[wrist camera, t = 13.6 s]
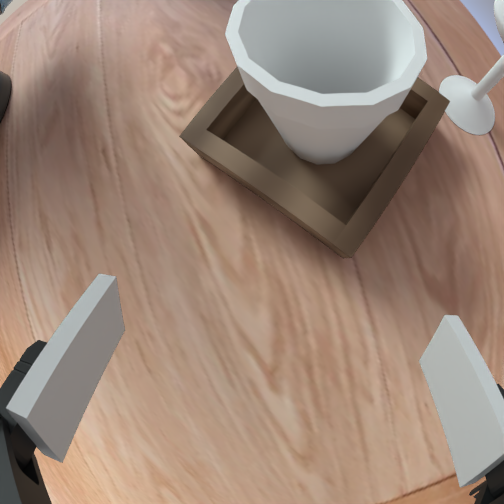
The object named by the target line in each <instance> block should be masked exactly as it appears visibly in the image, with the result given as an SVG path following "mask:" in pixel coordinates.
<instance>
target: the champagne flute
mask: <svg viewBox="0 0 504 504" xmlns="http://www.w3.org/2000/svg"><path fill="white" fill-rule="evenodd" d="M494 16H495V20H496V24H497V29H498V31H499V33H500V36H501V38H502V40H503V43H504V0H495V2H494ZM503 77H504V55H503V56H502V57H501V58H500V59H499V60H498V61H497V63H496V64H495V65H494V66H493V67H492V68H491V70H490V71H489V72H488V73H487V74H486V75H485V76H484V78H483V79H482V80H481V81H480V82H479V83H478V84H477V83H475V82H474V81H472V80H471V79H468V78H466V77H463V76H459V75H453V76H449V77H446V78H445V79H444V80H443V81H442V83H441V85H440V88H439V93H440V94H442V95H443V96H444V97H446V98H447V99H448V100H449V101H450V103H449V104H448V106H447V108H446V110H445V112H446V113H447V115H448V116H449V118H450V119H451V120H452V121H453V122H454V123H455V124H456V125H457V126H458V127H460V128H461V129H463V130H464V131H466V132H468V133H471V134H475V135H482V134H486V133H488V132H489V131H490V130H491V129H492V127H493V125H494V122H495V112H494V108H493V105H492V102H491V100H490V99H489V97H488V95H487V93H488V92H489V91H490V90H491V89H492V88H493V87H494V86H495V85H496V84H497V83H498V82H499V81H500V80H501V79H502V78H503Z"/></svg>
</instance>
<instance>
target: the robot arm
mask: <svg viewBox="0 0 504 504" xmlns="http://www.w3.org/2000/svg"><path fill="white" fill-rule="evenodd" d="M11 1H12V0H0V15H1V14H2V13H4V11H5V8H6V7H7V6H8V5H9V4H10V3H11ZM10 90H11V80H10V77H9V76H8V75H7V74H5V73H3V72H2V71H0V122H1V119H2V117H3V115H4V112H5V109H6V106H7V103H8V100H9V96H10ZM124 331H125V327H124V322H123V316H122V310H121V304H120V298H119V292H118V285H117V278H116V276H110V275H105V274H98V276H97V277H96V278H95V279H94V281H93V282H92V283H91V284H90V286H89V287H88V288H87V290H86V291H85V292H84V293H83V295H82V296H81V297H80V299H79V300H78V301H77V303H76V304H75V305H74V307H73V308H72V309H71V311H70V312H69V313H68V315H67V316H66V317H65V319H64V320H63V322H62V323H61V324H60V326H59V327H58V328H57V330H56V331H55V333H54V334H53V336H52V337H51V338H50V340H49V341H48V343H46V342H43V341H40V340H38V341H37V342H35V343H34V344H33V345H31V346H30V347H28V348H27V350H26V351H25V352H24V354H23V355H22V357H21V358H20V361H18V362H17V364H16V365H15V367H14V370H12V371H11V373H10V374H9V376H8V377H7V379H6V380H5V382H4V383H3V385H2V387H1V388H0V504H52V503H51V501H50V498H49V495H48V493H47V490H46V487H45V484H44V481H43V478H42V475H41V472H40V469H39V466H38V463H37V459H36V457H35V455H34V451H35V448H36V447H37V448H38V449H39V450H40V451H41V452H42V453H43V454H44V455H46V456H48V457H50V458H53V459H55V460H57V461H59V462H62V463H63V460H64V458H65V456H66V453H67V451H68V448H69V446H70V444H71V441H72V439H73V437H74V434H75V432H76V430H77V428H78V425H79V423H80V421H81V419H82V417H83V414H84V412H85V410H86V408H87V406H88V404H89V401H90V399H91V397H92V395H93V393H94V391H95V389H96V387H97V385H98V382H99V380H100V378H101V376H102V374H103V372H104V370H105V368H106V366H107V364H108V362H109V360H110V358H111V356H112V354H113V352H114V350H115V348H116V346H117V345H118V343H119V341H120V339H121V337H122V335H123V333H124ZM419 363H420V365H421V368H422V370H423V373H424V376H425V378H426V381H427V383H428V386H429V389H430V392H431V394H432V397H433V400H434V403H435V406H436V409H437V411H438V414H439V417H440V420H441V423H442V426H443V430H444V433H445V436H446V439H447V442H448V446H449V449H450V452H451V456H452V459H453V463H454V466H455V470H456V474H457V478H458V481H459V485H460V487H463V486H467V485H470V484H473V483H475V482H477V481H478V480H479V479H481V478H482V477H484V476H486V481H484V482H483V483H482V484H480V485H479V486H477V487H476V488H474V489H473V490H472V491H471V492H470V494H469V495H470V496H471V495H473V494H474V493H476V492H477V491H479V493H477V494H476V495H475V496H474V498H476V501H475V503H474V504H504V389H503V388H502V387H501V386H500V385H499V384H496V382H495V380H494V378H493V377H492V375H491V373H490V371H489V369H488V367H487V365H486V363H485V361H484V360H483V358H482V356H481V354H480V352H479V350H478V349H477V347H476V345H475V343H474V342H473V340H472V338H471V336H470V335H469V333H468V331H467V330H466V328H465V326H464V325H463V323H462V321H461V320H460V318H459V316H457V315H444V317H443V319H442V321H441V323H440V325H439V327H438V328H437V330H436V332H435V334H434V336H433V338H432V339H431V341H430V343H429V345H428V346H427V348H426V350H425V352H424V353H423V355H422V357H421V358H420V360H419Z"/></svg>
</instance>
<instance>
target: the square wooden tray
mask: <svg viewBox="0 0 504 504" xmlns="http://www.w3.org/2000/svg"><path fill="white" fill-rule="evenodd" d="M449 103H450V101H449V100H448V99H447V98H446V97H444V96H443V95H442V94H440V93H439V92H438V91H436V90H435V89H434V88H432V87H431V86H429V85H428V84H427V83H425V82H424V81H422V80H421V79H420V78H418V77H417V79H416V81H415V83H414V84H413V86H412V88H411V89H410V91H409V93H408V95H407V96H406V98H405V100H404V101H403V103H402V105H401V106H400V108H399V110H398V111H396V112H394V113H392V114H390V115H388V116H387V117H386V118H385V119H384V120H383V121H382V122H381V123H380V124H379V125H378V126H377V127H376V128H375V129H374V130H373V131H372V132H371V134H370V135H369V136H368V137H367V138H366V139H365V140H364V141H363V142H362V143H361V144H360V145H359V146H358V147H357V148H356V149H355V150H354V151H353V153H352V154H350V155H349V156H347V157H346V158H344V159H342V160H340V161H338V162H337V163H334V164H318V165H317V164H314V163H312V162H309V161H306V160H303V159H301V158H299V157H298V156H297V155H296V154H295V153H294V152H293V151H292V150H291V149H290V148H289V147H288V145H287V144H286V143H285V141H284V140H283V138H282V136H281V135H280V133H279V132H278V130H277V128H276V127H275V125H274V124H273V122H272V121H271V119H270V118H269V116H268V114H267V113H266V111H265V110H264V108H263V107H262V105H261V104H260V102H259V101H258V99H257V98H256V97H254V96H253V95H252V94H251V93H250V92H248V91H247V90H246V87H245V84H244V82H243V79H242V77H241V74H240V72H239V69H238V67H237V68H236V69H235V70H234V71H233V72H232V73H231V74H230V76H229V77H228V78H227V79H226V80H225V81H224V82H223V84H222V85H221V86H220V87H219V88H218V89H217V91H216V92H215V93H214V94H213V95H212V96H211V98H210V99H209V100H208V101H207V102H206V104H205V105H204V106H203V107H202V108H201V110H200V111H199V112H198V113H197V115H196V116H195V117H194V118H193V120H192V121H191V122H190V123H189V125H188V126H187V127H186V129H185V130H184V131H183V132H182V134H181V135H180V136H179V137H180V138H182V139H183V140H184V141H185V142H186V143H187V144H188V145H189V146H190V147H191V148H192V149H193V150H194V151H195V152H196V153H197V154H198V155H200V156H201V157H203V158H204V159H206V160H207V161H209V162H210V163H212V164H213V165H215V166H216V167H217V168H219V169H220V170H222V171H223V172H225V173H226V174H228V175H229V176H231V177H232V178H234V179H235V180H236V181H238V182H239V183H241V184H242V185H244V186H245V187H246V188H248V189H249V190H251V191H252V192H254V193H255V194H256V195H258V196H259V197H261V198H262V199H263V200H265V201H266V202H268V203H269V204H270V205H272V206H273V207H275V208H276V209H277V210H279V211H280V212H282V213H283V214H284V215H286V216H287V217H289V218H290V219H291V220H293V221H294V222H295V223H297V224H298V225H299V226H301V227H302V228H304V229H305V230H306V231H308V232H309V233H310V234H312V235H313V236H314V237H316V238H317V239H318V240H320V241H321V242H322V243H324V244H325V245H326V246H328V247H329V248H330V249H332V250H333V251H334V252H336V253H337V254H338V255H340V256H341V257H342V258H351V257H352V256H353V255H354V253H355V252H356V250H357V249H358V248H359V246H360V245H361V243H362V242H363V240H364V239H365V238H366V236H367V235H368V233H369V232H370V230H371V229H372V227H373V226H374V225H375V223H376V222H377V220H378V219H379V217H380V216H381V214H382V213H383V211H384V210H385V208H386V207H387V205H388V204H389V202H390V201H391V199H392V198H393V196H394V195H395V193H396V191H397V190H398V188H399V187H400V185H401V184H402V182H403V180H404V179H405V177H406V176H407V174H408V173H409V171H410V169H411V168H412V166H413V165H414V163H415V161H416V160H417V158H418V156H419V155H420V153H421V151H422V150H423V148H424V146H425V145H426V143H427V141H428V140H429V138H430V136H431V135H432V133H433V131H434V129H435V128H436V126H437V124H438V122H439V121H440V119H441V117H442V115H443V113H444V112H445V110H446V108H447V106H448V104H449Z"/></svg>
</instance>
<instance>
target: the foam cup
mask: <svg viewBox="0 0 504 504" xmlns="http://www.w3.org/2000/svg"><path fill="white" fill-rule="evenodd" d="M225 35H226V38H227V40H228V43H229V45H230V48H231V51H232V53H233V56H234V59H235V61H236V64H237V66H238V69H239V72H240V74H241V77H242V79H243V82H244V84H245V87H246V90H247V91H248V92H250V93H251V94H252V95H253V96H254V97H256V98H257V99H258V101H259V102H260V104H261V105H262V107H263V108H264V110H265V111H266V113H267V114H268V116H269V118H270V119H271V121H272V122H273V124H274V125H275V127H276V128H277V130H278V132H279V133H280V135H281V136H282V138H283V140H284V141H285V143H286V144H287V145H288V147H289V148H290V149H291V150H292V151H293V152H294V153H295V154H296V155H297V156H298V157H299V158H301V159H303V160H306V161H309V162H312V163H314V164H317V165H318V164H334V163H337V162H338V161H340V160H342V159H344V158H346V157H347V156H349V155H350V154H352V153H353V151H354V150H355V149H356V148H357V147H358V146H359V145H360V144H361V143H362V142H363V141H364V140H365V139H366V138H367V137H368V136H369V135H370V134H371V132H372V131H373V130H374V129H375V128H376V127H377V126H378V125H379V124H380V123H381V122H382V121H383V120H384V119H385V118H386V117H387V116H388V115H390V114H392V113H394V112H396V111H398V110H399V108H400V106H401V105H402V103H403V101H404V100H405V98H406V96H407V95H408V93H409V91H410V89H411V88H412V86H413V84H414V83H415V81H416V79H417V77H418V75H419V73H420V72H421V70H422V68H423V66H424V64H425V62H426V60H427V53H426V45H425V38H424V32H423V27H422V26H421V24H420V23H419V22H418V20H417V19H416V18H415V16H414V15H413V14H412V12H411V11H410V10H409V8H408V7H407V6H406V5H405V3H404V2H403V1H402V0H239V1H238V2H237V3H235V4H234V6H233V9H232V12H231V15H230V19H229V22H228V25H227V29H226V32H225Z"/></svg>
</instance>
